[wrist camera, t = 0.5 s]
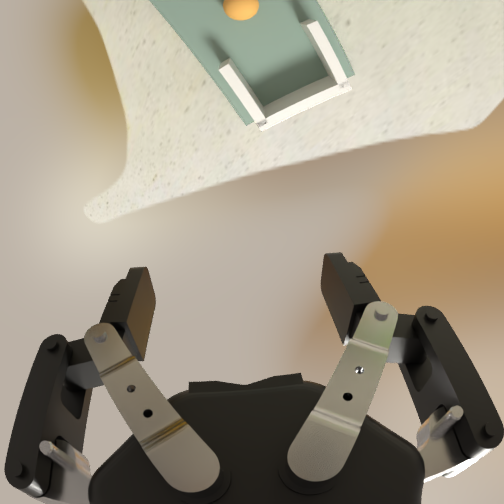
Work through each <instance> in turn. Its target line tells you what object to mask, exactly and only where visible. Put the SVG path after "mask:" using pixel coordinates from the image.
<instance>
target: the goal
mask: <svg viewBox="0 0 504 504" xmlns="http://www.w3.org/2000/svg"><path fill="white" fill-rule="evenodd" d="M300 25H301V26H302V28H303V30H304V31H305V33H306V35H307V37H308V38H309V40H310V42H311V44H312V45H313V47H314V49H315V51H316V53H317V54H318V56H319V58H320V60H321V62H322V64H323V66H324V68H325V70H326V71H327V73H328V75H329V76H327V77H324V78H322V79H320V80H317V81H315V82H313V83H311V84H309V85H306V86H304V87H302V88H300V89H298V90H296V91H294V92H291V93H289V94H287V95H285V96H283V97H281V98H279V99H277V100H275V101H273V102H271V103H269V104H267V105H265V106H263V105H262V104H261V102H260V101H259V99H258V98H257V96H256V95H255V93H254V92H253V90H252V89H251V87H250V86H249V84H248V83H247V81H246V80H245V78H244V77H243V75H242V74H241V73H240V71H239V70H238V68H237V67H236V65H235V64H234V63H233V61H232V60H231V58H228V59H227V60H225V61H223V62H222V63H221V64H220V67H219V69H218V70H219V71H220V73H221V74H222V75H223V77H224V78H225V80H226V81H227V82H228V84H229V85H230V87H231V88H232V89H233V91H234V92H235V94H236V95H237V96H238V98H239V99H240V101H241V102H242V104H243V105H244V107H245V108H246V109H247V111H248V112H249V114H250V115H251V117H252V118H253V120H254V121H255V123H256V124H257V126H258V127H259V129H260V130H261V132H262V131H264V130H266V129H268V128H270V127H272V126H274V125H276V124H278V123H280V122H282V121H284V120H286V119H288V118H290V117H292V116H294V115H296V114H298V113H300V112H302V111H305V110H307V109H309V108H311V107H313V106H315V105H318V104H320V103H322V102H324V101H327V100H329V99H331V98H333V97H336V96H338V95H340V94H343V93H345V92H348V91H350V90H352V88H351V86H350V84H349V82H348V79H347V77H346V75H345V73H344V71H343V69H342V67H341V65H340V63H339V60H338V58H337V56H336V54H335V53H334V51H333V49H332V47H331V45H330V43H329V41H328V39H327V37H326V35H325V34H324V32H323V30H322V28H321V26H320V25H319V23H318V21H316V20H311V19H308V20H305V21H303V22H301V23H300Z"/></svg>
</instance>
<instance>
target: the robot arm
mask: <svg viewBox="0 0 504 504" xmlns="http://www.w3.org/2000/svg"><path fill="white" fill-rule="evenodd" d="M321 291H322V294H323V296H324V299H325V301H326V304H327V306H328V309H329V311H330V314H331V316H332V318H333V321H334V323H335V326H336V328H337V331H338V333H339V336H340V338H341V341H342V343H343V345H347V347H346V349H345V351H344V353H343V355H342V357H341V359H340V361H339V364H338V365H337V367H336V369H335V371H334V373H333V375H332V377H331V379H330V381H329V383H328V384H327V386H323V385H321V384H318V383H314V382H310V381H303V379H302V375H301V373H296V374H290V375H280V376H273V377H270V378H267V379H264V380H261V381H258V382H255V383H251V384H248V385H240V384H233V383H226V382H220V381H206V382H189V390H186V391H183V392H180V393H178V394H176V395H174V396H172V397H171V398H169V399H167V400H166V398H165V397H164V396H163V394H162V393H161V392H160V390H159V389H158V388H157V386H156V385H155V384H154V382H153V381H152V380H151V378H150V377H149V376H148V374H147V373H146V371H145V370H144V369H143V368H142V366H141V364H140V363H139V362H138V361H144V358H145V352H146V347H147V342H148V338H149V333H150V327H151V323H152V318H153V314H154V310H155V304H156V300H155V293H154V289H153V286H152V282H151V278H150V275H149V271H148V269H147V267H134V268H130V270H129V272H128V274H127V277H126V279H121V280H120V281H119V282H118V283H117V284H116V285H115V286H114V287H113V290H112V292H111V296H110V297H109V299H108V302H107V304H106V307H105V309H104V312H103V314H102V317H101V320H100V322H99V324H96V325H94V326H92V327H91V328H90V329H88V330H87V332H86V334H85V336H84V338H82V339H79V340H75V341H71V342H68V341H67V340H66V338H65V337H64V336H63V335H60V334H55V335H51V336H49V337H47V338H46V339H45V340H44V341H43V342H42V343H41V345H40V348H39V350H38V353H37V355H36V358H35V360H34V363H33V366H32V368H31V371H30V374H29V377H28V380H27V383H26V386H25V389H24V392H23V395H22V399H21V401H20V405H19V409H18V411H17V415H16V419H15V422H14V426H13V430H12V434H11V438H10V443H9V448H8V452H7V457H6V463H5V475H6V478H7V480H8V482H9V483H10V484H11V485H12V486H13V487H15V488H17V489H19V490H21V491H23V492H24V493H26V494H27V495H29V496H30V497H32V498H34V499H37V500H39V501H41V502H43V503H45V504H421V495H422V488H423V484H424V482H426V481H429V480H432V479H434V478H436V477H438V476H441V475H442V476H444V477H453V476H455V475H457V474H458V473H460V472H461V471H463V470H464V469H466V468H468V467H469V466H470V465H472V464H473V463H475V462H476V461H477V460H479V459H481V458H482V457H483V456H485V455H486V454H487V453H489V452H490V451H491V450H493V449H494V448H495V447H497V446H498V445H499V444H500V443H501V441H502V439H503V436H504V428H503V424H502V421H501V419H500V417H499V415H498V413H497V410H496V408H495V406H494V404H493V402H492V400H491V398H490V396H489V394H488V392H487V390H486V388H485V386H484V384H483V382H482V380H481V378H480V376H479V374H478V372H477V370H476V369H475V367H474V365H473V363H472V361H471V359H470V358H469V356H468V354H467V352H466V351H465V349H464V347H463V345H462V344H461V342H460V340H459V339H458V337H457V335H456V334H455V332H454V330H453V329H452V327H451V326H450V324H449V322H448V321H447V319H446V318H445V316H444V315H443V313H442V312H441V311H440V310H438V309H436V308H434V307H431V306H422V307H420V308H419V309H418V310H417V312H416V314H415V315H407V314H398V313H397V311H396V309H395V308H394V307H393V306H392V305H390V304H388V303H386V302H381V300H380V299H379V297H378V295H377V293H376V292H375V290H374V289H373V287H372V285H371V284H370V283H369V281H368V279H367V278H366V277H365V274H364V273H363V271H362V269H361V268H360V267H358V266H357V265H356V264H354V263H353V262H347V261H346V259H345V257H344V256H343V254H342V253H340V252H339V253H327V254H325V255H324V259H323V268H322V276H321ZM386 362H387V363H398V364H399V367H400V370H401V372H402V374H403V377H404V379H405V382H406V384H407V387H408V389H409V392H410V395H411V397H412V400H413V402H414V405H415V408H416V410H417V413H418V416H419V419H420V422H421V424H422V425H421V426H420V428H419V429H418V432H417V445H418V446H417V448H416V447H415V446H414V445H412V444H411V443H410V442H408V441H407V440H405V439H404V438H402V437H400V436H399V435H397V434H396V433H394V432H393V431H391V430H390V429H388V428H386V427H385V426H383V425H382V424H380V423H379V422H377V421H376V420H374V419H373V418H371V417H370V416H369V415H367V411H368V409H369V406H370V404H371V401H372V399H373V396H374V394H375V391H376V388H377V386H378V383H379V380H380V377H381V375H382V372H383V369H384V366H385V363H386ZM102 385H105V387H106V389H107V391H108V393H109V394H110V396H111V398H112V400H113V401H114V403H115V405H116V407H117V408H118V410H119V412H120V413H121V415H122V416H123V418H124V420H125V421H126V423H127V425H128V426H129V428H130V429H131V431H132V432H133V435H131V437H129V438H128V440H126V442H124V444H123V445H122V446H121V447H120V448H119V449H118V450H117V451H115V452H114V454H112V455H111V456H110V457H109V458H108V459H107V460H106V462H104V463H103V465H101V467H99V468H98V469H97V470H96V472H95V473H94V475H93V476H91V474H90V465H89V462H88V460H87V458H86V457H85V456H84V455H83V454H82V450H83V443H84V436H85V429H86V422H87V417H88V410H89V405H90V400H91V395H92V389H93V387H98V386H102Z"/></svg>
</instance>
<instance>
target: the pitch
mask: <svg viewBox="0 0 504 504" xmlns="http://www.w3.org/2000/svg"><path fill="white" fill-rule="evenodd" d="M149 1H150V2H151V3H152V4H153V5H154V6H155V8H156V9H157V10H158V11H159V12H160V13H161V15H162V16H163V17H164V18H165V19H166V21H167V22H168V23H169V24H170V25H171V27H172V28H173V29H174V30H175V32H176V33H177V34H178V35H179V36H180V38H181V39H182V40H183V41H184V43H185V44H186V45H187V46H188V48H189V49H190V50H191V52H192V53H193V54H194V55H195V57H196V58H197V59H198V61H199V62H200V63H201V64H202V66H203V67H204V68H205V70H206V71H207V72H208V74H209V75H210V76H211V78H212V79H213V80H214V82H215V83H216V84H217V86H218V87H219V89H220V90H221V91H222V93H223V94H224V95H225V97H226V98H227V99H228V101H229V102H230V104H231V105H232V106H233V108H234V109H235V111H236V112H237V113H238V115H239V116H240V118H241V119H242V121H243V122H244V123H245V125H246V126H247V125H249V124H251V123H252V122H254V120H253V118H252V117H251V115H250V114H249V112H248V111H247V109H246V108H245V107H244V105H243V104H242V102H241V101H240V99H239V98H238V96H237V95H236V94H235V92H234V91H233V89H232V88H231V87H230V85H229V84H228V82H227V81H226V80H225V78H224V77H223V75H222V74H221V73H220V71H219V70H218V69H219V67H220V64H221V63H222V62H223V61H225V60H227V59H228V58H231V60H232V61H233V63H234V64H235V65H236V67H237V68H238V70H239V71H240V73H241V74H242V75H243V77H244V78H245V80H246V81H247V83H248V84H249V86H250V87H251V89H252V90H253V92H254V93H255V95H256V96H257V98H258V99H259V101H260V102H261V104H262V105H263V106H265V105H267V104H269V103H271V102H273V101H275V100H277V99H279V98H281V97H283V96H285V95H287V94H289V93H291V92H294V91H296V90H298V89H300V88H302V87H304V86H306V85H309V84H311V83H313V82H315V81H317V80H320V79H322V78H324V77H327V76H329V75H328V73H327V71H326V70H325V68H324V66H323V64H322V62H321V60H320V58H319V56H318V54H317V53H316V51H315V49H314V47H313V45H312V44H311V42H310V40H309V38H308V37H307V35H306V33H305V31H304V30H303V28H302V26H301V25H300V23H301V22H303V21H305V20H308V19H311V20H316V21H318V23H319V25H320V26H321V28H322V30H323V32H324V34H325V35H326V37H327V39H328V41H329V43H330V45H331V47H332V49H333V51H334V53H335V54H336V56H337V58H338V60H339V63H340V65H341V67H342V69H343V71H344V73H345V75H346V77H347V78H348V77H351V76H353V75H355V73H354V71H353V69H352V67H351V65H350V62H349V60H348V58H347V56H346V54H345V52H344V50H343V48H342V46H341V44H340V42H339V40H338V38H337V36H336V34H335V32H334V30H333V29H332V27H331V25H330V23H329V21H328V19H327V18H326V16H325V14H324V12H323V11H322V9H321V7H320V5H319V4H318V2H317V0H258V2H259V9H258V11H257V13H256V14H255V15H254V16H253V17H251V18H250V19H247V20H234V19H232V18H230V17H228V16H227V15H226V13H225V12H224V9H223V2H224V0H149Z"/></svg>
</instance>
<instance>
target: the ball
mask: <svg viewBox="0 0 504 504" xmlns="http://www.w3.org/2000/svg"><path fill="white" fill-rule="evenodd" d="M223 9H224V12H225V13H226V15H227V16H228V17H230V18H232V19H234V20H247V19H250V18H251V17H253V16H254V15H255V14H256V13H257V11H258V9H259V2H258V0H224V2H223Z"/></svg>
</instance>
